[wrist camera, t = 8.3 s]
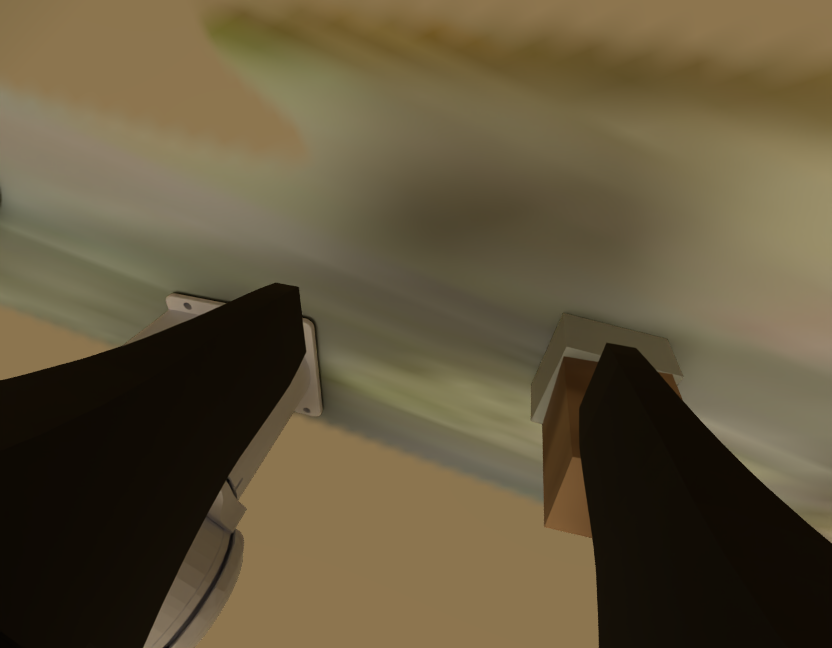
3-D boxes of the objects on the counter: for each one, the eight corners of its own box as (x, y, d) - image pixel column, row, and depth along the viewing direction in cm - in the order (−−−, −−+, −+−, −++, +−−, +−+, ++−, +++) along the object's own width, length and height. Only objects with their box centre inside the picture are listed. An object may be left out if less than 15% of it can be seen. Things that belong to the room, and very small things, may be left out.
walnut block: (542, 424, 21) (544, 526, 17) (563, 356, 19) (572, 456, 14) (636, 442, 20) (664, 555, 16) (672, 374, 18) (717, 486, 13)
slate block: (531, 381, 24) (531, 420, 21) (562, 310, 21) (566, 346, 18) (620, 405, 23) (630, 448, 21) (665, 335, 20) (683, 376, 18)
